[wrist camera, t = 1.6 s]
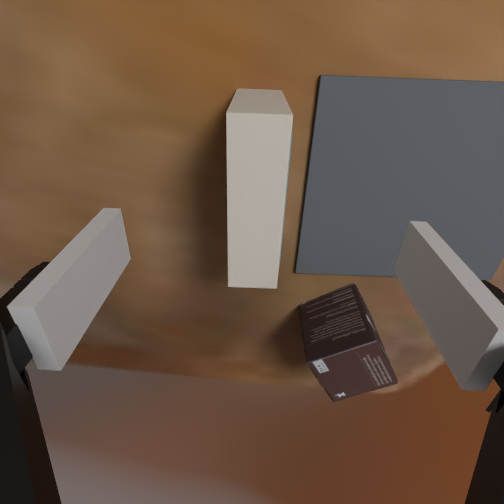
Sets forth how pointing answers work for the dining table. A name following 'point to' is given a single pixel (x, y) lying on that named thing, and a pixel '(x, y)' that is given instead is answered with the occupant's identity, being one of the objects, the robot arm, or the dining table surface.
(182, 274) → the dining table surface
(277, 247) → the light grey flat block
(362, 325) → the box
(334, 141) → the mat
